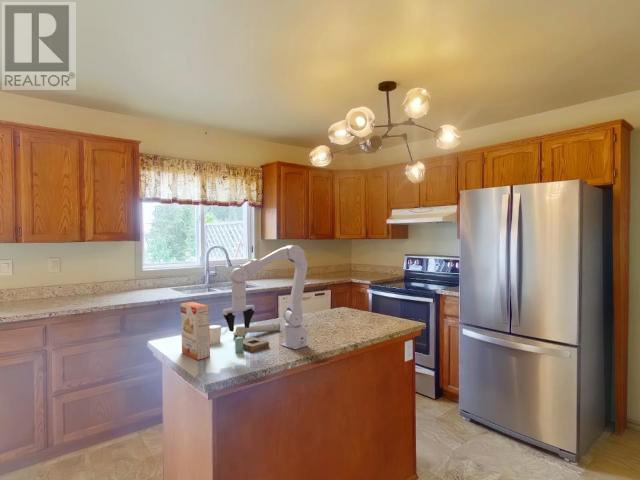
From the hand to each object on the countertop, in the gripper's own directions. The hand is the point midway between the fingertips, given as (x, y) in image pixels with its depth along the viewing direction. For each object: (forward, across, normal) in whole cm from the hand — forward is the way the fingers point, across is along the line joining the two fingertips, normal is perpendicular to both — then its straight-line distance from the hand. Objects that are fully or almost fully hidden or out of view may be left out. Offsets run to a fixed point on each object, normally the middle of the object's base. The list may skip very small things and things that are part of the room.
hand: (239, 329), depth 154 cm
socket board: (+9, -8, -2) cm, 12 cm away
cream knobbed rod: (+10, -21, -16) cm, 28 cm away
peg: (+10, 0, 0) cm, 10 cm away
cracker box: (+10, +14, -10) cm, 20 cm away
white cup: (+10, -1, -22) cm, 24 cm away
